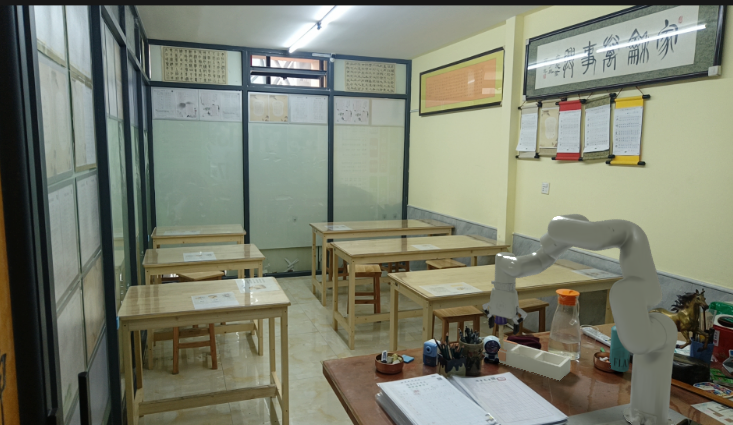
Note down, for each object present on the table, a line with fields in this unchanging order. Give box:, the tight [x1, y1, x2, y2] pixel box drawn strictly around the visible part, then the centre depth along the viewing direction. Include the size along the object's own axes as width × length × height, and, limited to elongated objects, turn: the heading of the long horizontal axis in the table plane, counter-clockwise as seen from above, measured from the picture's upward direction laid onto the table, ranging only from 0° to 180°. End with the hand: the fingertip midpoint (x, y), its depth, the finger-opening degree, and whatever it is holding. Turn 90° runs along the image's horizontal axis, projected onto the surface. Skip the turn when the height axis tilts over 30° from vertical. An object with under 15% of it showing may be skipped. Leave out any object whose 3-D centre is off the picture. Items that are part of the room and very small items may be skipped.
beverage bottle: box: [608, 325, 631, 373], centre depth 167 cm, size 6×7×20 cm
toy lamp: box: [494, 316, 508, 349], centre depth 179 cm, size 5×5×17 cm
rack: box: [498, 339, 572, 382], centre depth 173 cm, size 11×28×5 cm, turn 48°
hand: (503, 330), depth 179 cm, fingers open, 9 cm apart
